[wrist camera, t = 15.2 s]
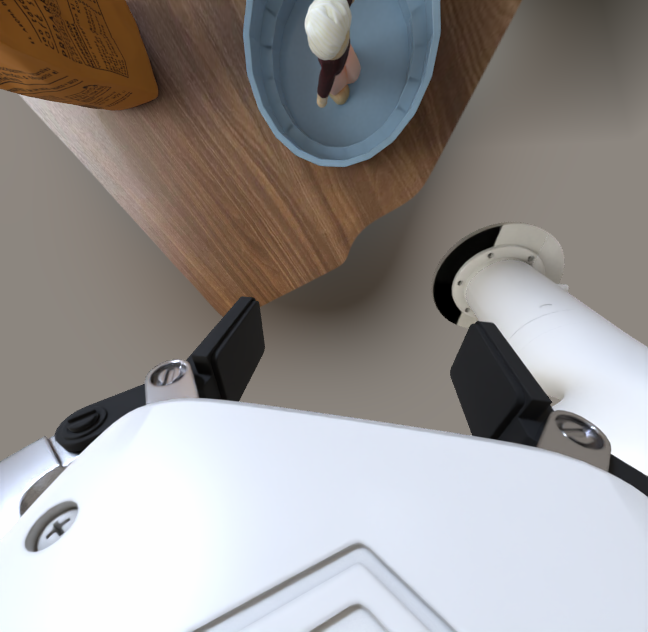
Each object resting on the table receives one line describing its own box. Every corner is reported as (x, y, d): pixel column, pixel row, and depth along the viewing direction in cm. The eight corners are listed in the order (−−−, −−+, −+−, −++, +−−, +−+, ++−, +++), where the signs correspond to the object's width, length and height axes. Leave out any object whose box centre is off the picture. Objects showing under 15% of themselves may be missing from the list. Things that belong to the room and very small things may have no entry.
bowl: (448, -65, 22) (473, -128, 17) (405, 167, 31) (413, 170, 26) (257, -56, 23) (227, -112, 18) (272, 160, 33) (256, 162, 28)
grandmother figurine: (353, 118, 29) (345, 100, 18) (320, 113, 29) (295, 92, 18) (369, 19, 24) (371, -79, 14) (330, 13, 25) (304, -87, 14)
